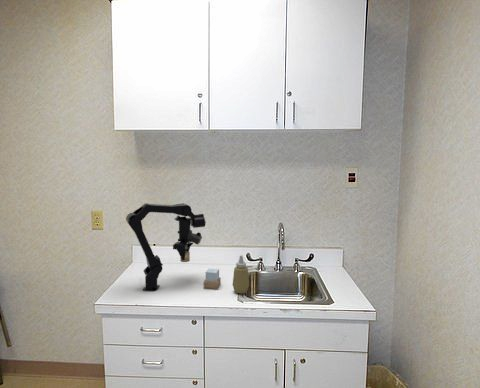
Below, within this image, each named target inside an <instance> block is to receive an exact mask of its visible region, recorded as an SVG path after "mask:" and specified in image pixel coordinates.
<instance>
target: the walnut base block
mask: <svg viewBox="0 0 480 388" xmlns="http://www.w3.org/2000/svg"><path fill="white" fill-rule="evenodd" d="M221 283H222V281H221V277H220V276H219V279H218V280H217V282H213V281H206V278H205V279H204V281H203V289H204V290H217V291H218V290H219V288H220V286H221Z"/></svg>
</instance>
